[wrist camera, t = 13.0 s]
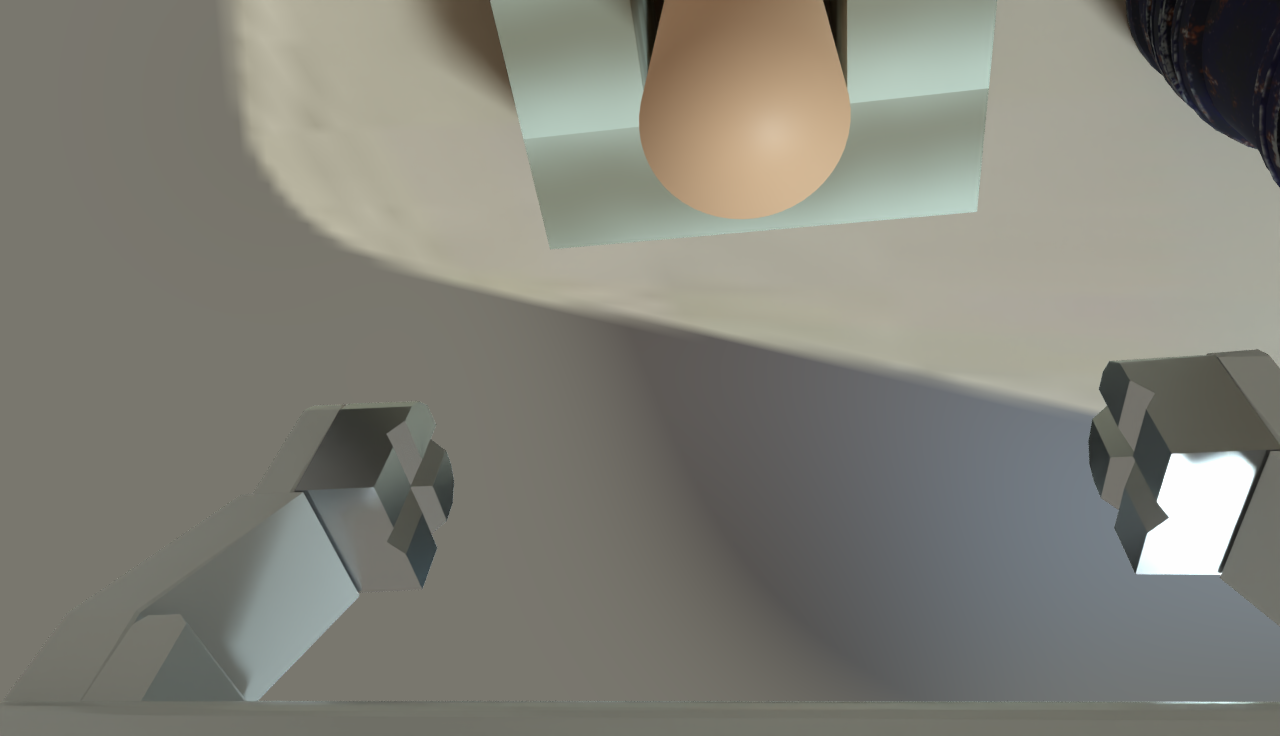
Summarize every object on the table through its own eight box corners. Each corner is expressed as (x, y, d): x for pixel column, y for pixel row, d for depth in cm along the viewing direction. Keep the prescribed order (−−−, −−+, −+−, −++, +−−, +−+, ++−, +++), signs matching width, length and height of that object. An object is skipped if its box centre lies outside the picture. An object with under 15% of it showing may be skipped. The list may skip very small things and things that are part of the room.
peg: (833, -32, 29) (892, 139, 18) (729, 53, 31) (725, 253, 20) (754, -147, 27) (766, -34, 16) (648, -48, 29) (595, 112, 18)
